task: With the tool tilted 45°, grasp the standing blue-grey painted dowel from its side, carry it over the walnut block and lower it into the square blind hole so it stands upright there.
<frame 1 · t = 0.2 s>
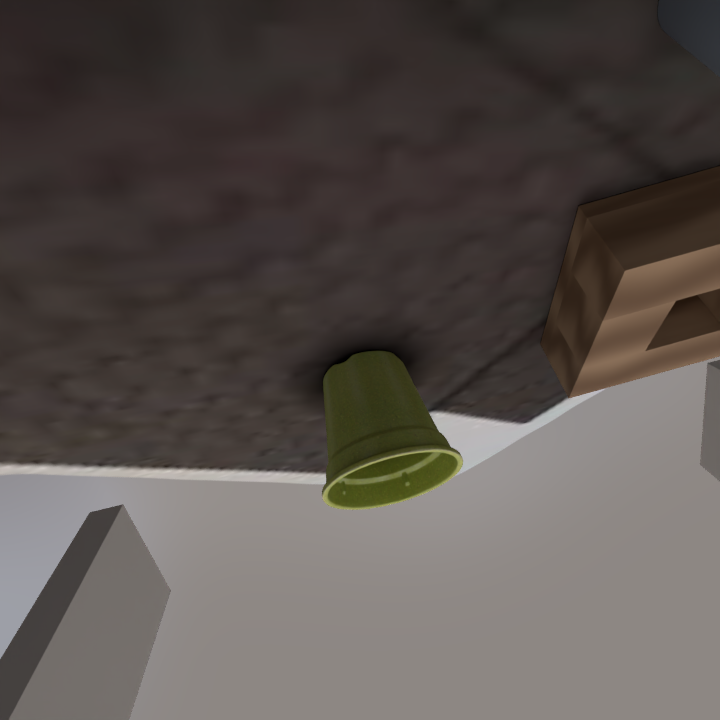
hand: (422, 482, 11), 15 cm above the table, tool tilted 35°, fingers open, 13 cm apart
plant pot: (363, 370, 37), on the table
bore block: (657, 258, 33), on the table
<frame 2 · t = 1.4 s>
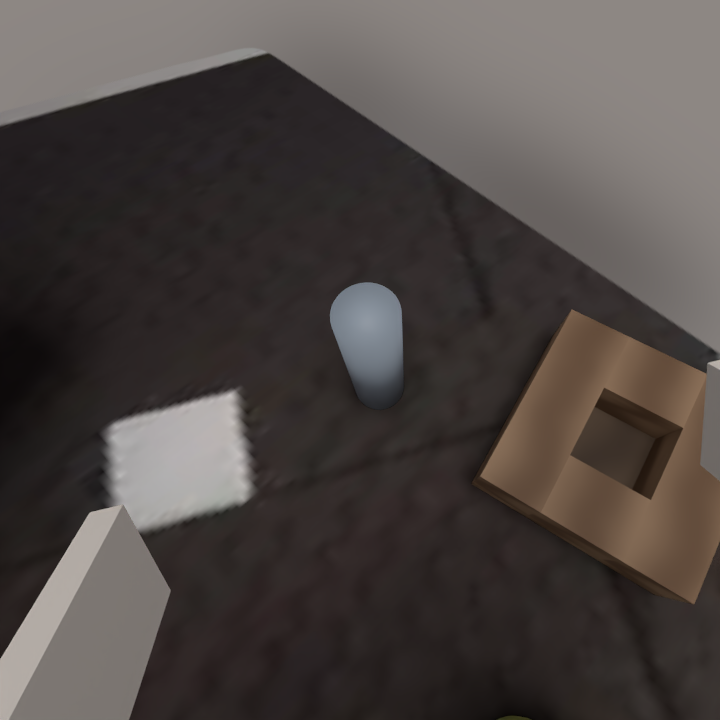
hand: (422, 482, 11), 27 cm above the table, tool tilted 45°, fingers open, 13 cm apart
dowel: (379, 385, 41), on the table
bore block: (599, 453, 37), on the table
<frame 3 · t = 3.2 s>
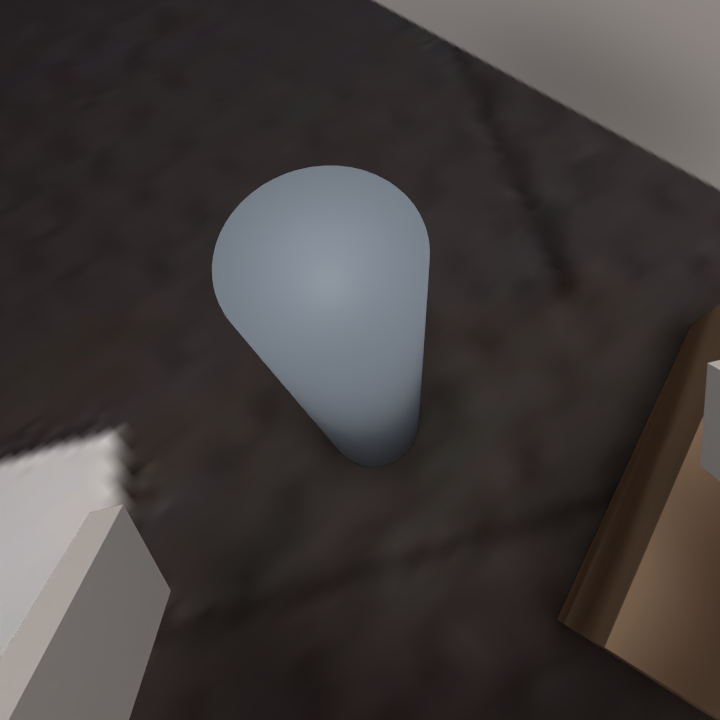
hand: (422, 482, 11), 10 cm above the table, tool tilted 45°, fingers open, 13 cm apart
dowel: (373, 421, 22), on the table
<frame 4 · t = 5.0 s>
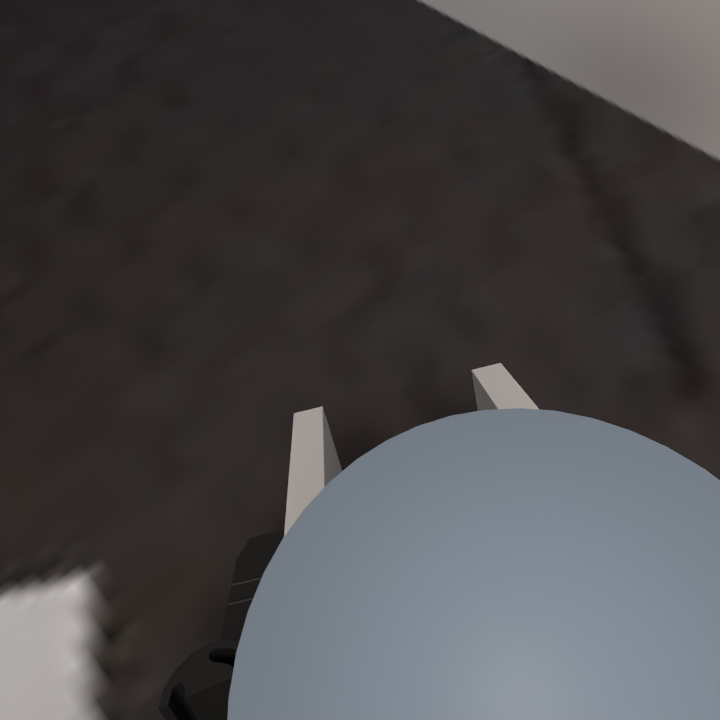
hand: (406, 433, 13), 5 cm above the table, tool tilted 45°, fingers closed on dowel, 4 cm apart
dowel: (438, 574, 16), on the table, touching gripper
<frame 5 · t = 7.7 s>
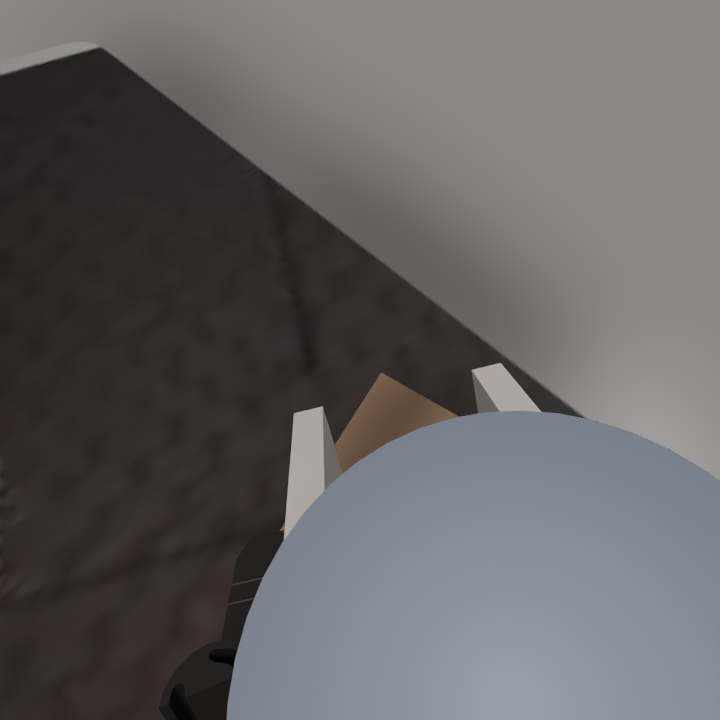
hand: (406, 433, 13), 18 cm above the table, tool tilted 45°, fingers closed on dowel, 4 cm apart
dowel: (438, 574, 16), point 13 cm above the table, touching gripper
bore block: (426, 557, 28), on the table
when the fingers open (7 cm above the table, at t = 10.3 s): dowel drops 1 cm, resting on bore block.
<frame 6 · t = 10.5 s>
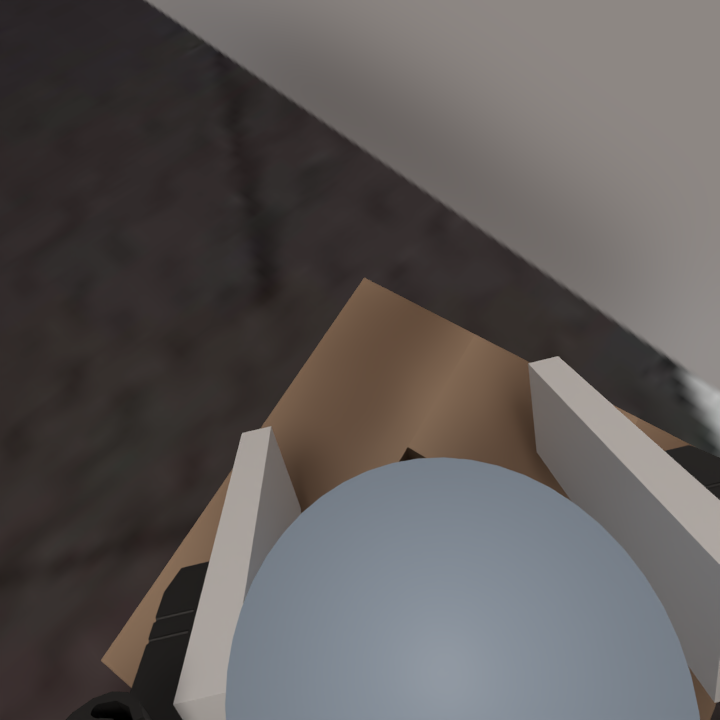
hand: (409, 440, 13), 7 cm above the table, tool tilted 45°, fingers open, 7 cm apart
dowel: (436, 573, 17), point 1 cm above the table, touching bore block
bore block: (435, 569, 18), on the table
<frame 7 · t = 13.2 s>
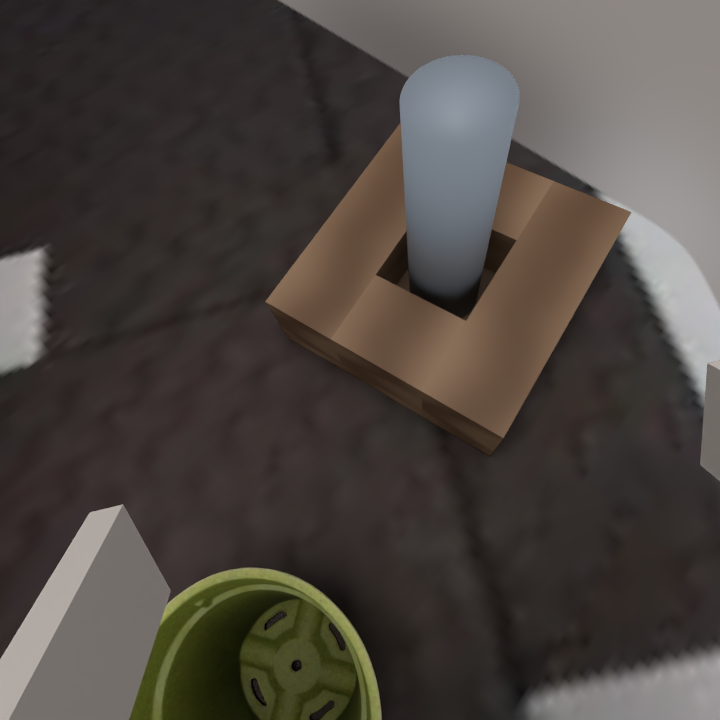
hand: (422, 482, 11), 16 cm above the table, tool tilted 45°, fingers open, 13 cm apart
dowel: (443, 293, 30), point 1 cm above the table, touching bore block
plant pot: (301, 660, 25), on the table
bore block: (442, 300, 31), on the table
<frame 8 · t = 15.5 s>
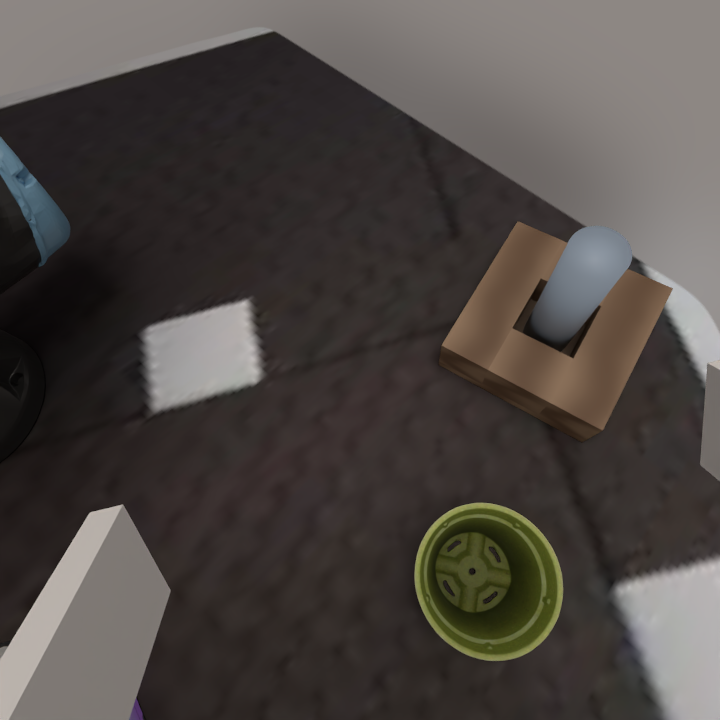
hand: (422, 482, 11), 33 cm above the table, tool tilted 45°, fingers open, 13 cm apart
dowel: (545, 335, 45), point 1 cm above the table, touching bore block
plant pot: (472, 570, 40), on the table
bore block: (542, 339, 46), on the table
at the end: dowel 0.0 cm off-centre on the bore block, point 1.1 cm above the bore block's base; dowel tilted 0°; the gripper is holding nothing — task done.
